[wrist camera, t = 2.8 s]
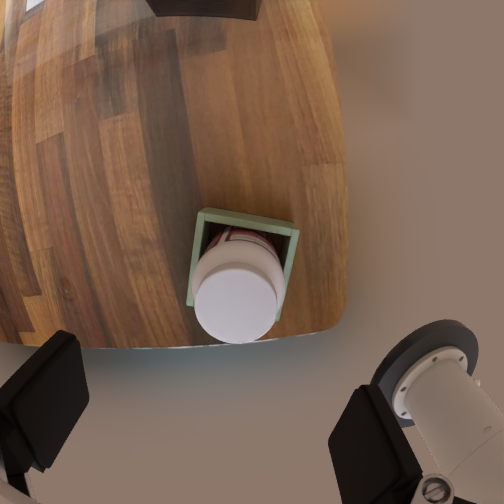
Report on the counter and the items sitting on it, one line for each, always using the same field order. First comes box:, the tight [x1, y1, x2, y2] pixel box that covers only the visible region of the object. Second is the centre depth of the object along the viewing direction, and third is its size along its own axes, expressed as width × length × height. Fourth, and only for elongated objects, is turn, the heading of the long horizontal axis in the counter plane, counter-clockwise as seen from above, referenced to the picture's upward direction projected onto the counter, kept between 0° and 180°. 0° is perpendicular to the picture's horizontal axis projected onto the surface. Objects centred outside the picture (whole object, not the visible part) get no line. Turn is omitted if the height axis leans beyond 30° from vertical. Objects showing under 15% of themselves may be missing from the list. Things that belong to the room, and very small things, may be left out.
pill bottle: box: [191, 225, 285, 344], centre depth 21 cm, size 6×6×11 cm
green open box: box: [186, 207, 300, 321], centre depth 24 cm, size 8×8×4 cm
